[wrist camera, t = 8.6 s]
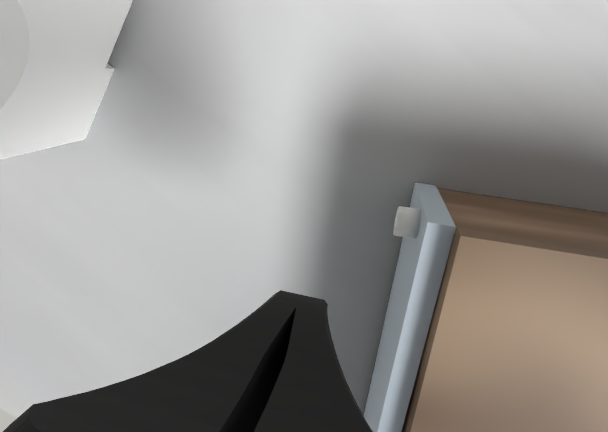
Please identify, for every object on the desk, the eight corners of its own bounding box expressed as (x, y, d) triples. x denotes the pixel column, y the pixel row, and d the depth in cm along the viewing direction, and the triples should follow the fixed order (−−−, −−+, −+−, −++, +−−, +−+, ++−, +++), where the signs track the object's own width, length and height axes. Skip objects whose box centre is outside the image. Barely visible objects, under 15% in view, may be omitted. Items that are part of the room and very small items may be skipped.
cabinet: (581, 497, 20) (651, 646, 15) (375, 451, 21) (373, 573, 16) (713, 223, 15) (887, 302, 10) (435, 183, 16) (460, 235, 11)
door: (370, 457, 21) (368, 555, 17) (341, 450, 21) (332, 546, 17) (435, 185, 16) (456, 226, 12) (397, 179, 16) (403, 218, 12)
